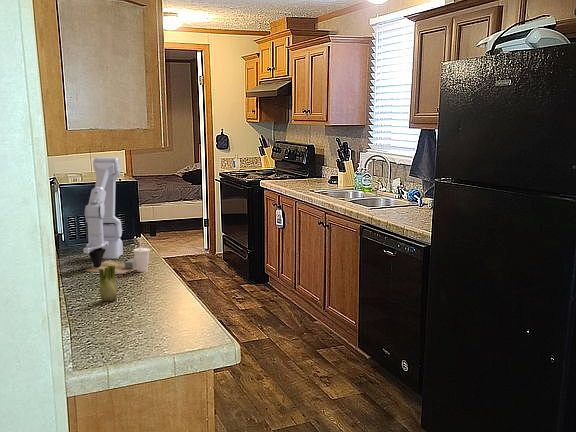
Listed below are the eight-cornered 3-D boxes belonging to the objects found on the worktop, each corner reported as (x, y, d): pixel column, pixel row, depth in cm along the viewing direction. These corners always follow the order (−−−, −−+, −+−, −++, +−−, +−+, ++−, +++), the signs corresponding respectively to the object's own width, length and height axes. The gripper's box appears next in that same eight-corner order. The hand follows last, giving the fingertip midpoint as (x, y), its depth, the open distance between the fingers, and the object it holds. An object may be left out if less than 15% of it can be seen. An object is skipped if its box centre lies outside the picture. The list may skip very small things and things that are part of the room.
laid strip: (125, 265, 226) (125, 262, 225) (143, 266, 224) (143, 263, 224) (104, 275, 210) (104, 272, 210) (123, 277, 208) (123, 273, 208)
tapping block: (131, 264, 223) (131, 258, 222) (138, 264, 223) (138, 258, 222) (125, 268, 216) (125, 262, 216) (132, 268, 216) (132, 262, 215)
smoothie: (130, 274, 212) (129, 239, 210) (140, 270, 218) (139, 236, 215) (144, 276, 210) (142, 241, 207) (154, 272, 215) (153, 237, 213)
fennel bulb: (100, 303, 178) (99, 268, 176) (99, 299, 182) (97, 264, 180) (119, 301, 180) (117, 266, 178) (116, 297, 185) (115, 263, 183)
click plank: (103, 275, 210) (103, 272, 210) (85, 273, 212) (85, 270, 212) (124, 265, 226) (124, 262, 225) (107, 263, 227) (107, 260, 227)
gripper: (97, 229, 223) (98, 261, 225) (75, 236, 209) (77, 270, 211) (112, 230, 221) (113, 263, 223) (92, 237, 207) (93, 272, 210)
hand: (97, 267), depth 217 cm, fingers closed, pressing on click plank
